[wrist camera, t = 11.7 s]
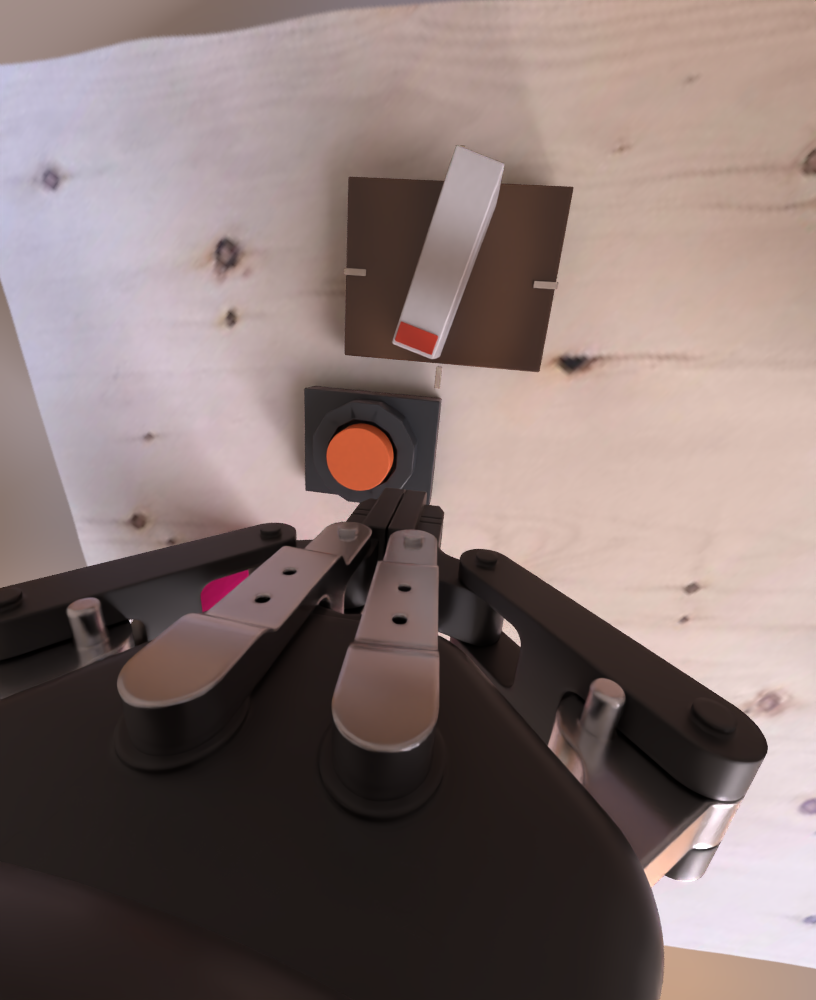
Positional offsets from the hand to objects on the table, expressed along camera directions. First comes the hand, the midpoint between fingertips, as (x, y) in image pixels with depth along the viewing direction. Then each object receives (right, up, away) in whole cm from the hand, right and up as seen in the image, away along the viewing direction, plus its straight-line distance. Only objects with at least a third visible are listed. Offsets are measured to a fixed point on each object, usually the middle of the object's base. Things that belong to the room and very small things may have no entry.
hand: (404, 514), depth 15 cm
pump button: (-3, +4, +15) cm, 15 cm away
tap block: (+3, +15, +13) cm, 20 cm away
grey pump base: (-3, +5, +18) cm, 19 cm away
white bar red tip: (+3, +14, +10) cm, 18 cm away
